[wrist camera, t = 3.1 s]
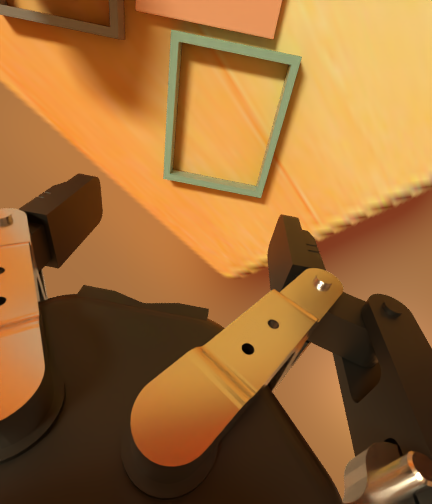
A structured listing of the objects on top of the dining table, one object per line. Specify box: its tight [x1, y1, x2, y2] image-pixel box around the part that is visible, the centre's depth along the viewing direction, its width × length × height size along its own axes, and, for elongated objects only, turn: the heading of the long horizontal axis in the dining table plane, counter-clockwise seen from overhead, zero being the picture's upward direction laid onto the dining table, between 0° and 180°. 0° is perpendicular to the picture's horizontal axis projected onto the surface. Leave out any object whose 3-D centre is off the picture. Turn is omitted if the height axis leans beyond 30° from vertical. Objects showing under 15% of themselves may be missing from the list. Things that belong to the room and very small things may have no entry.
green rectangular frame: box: [163, 30, 302, 198], centre depth 28 cm, size 11×13×2 cm
